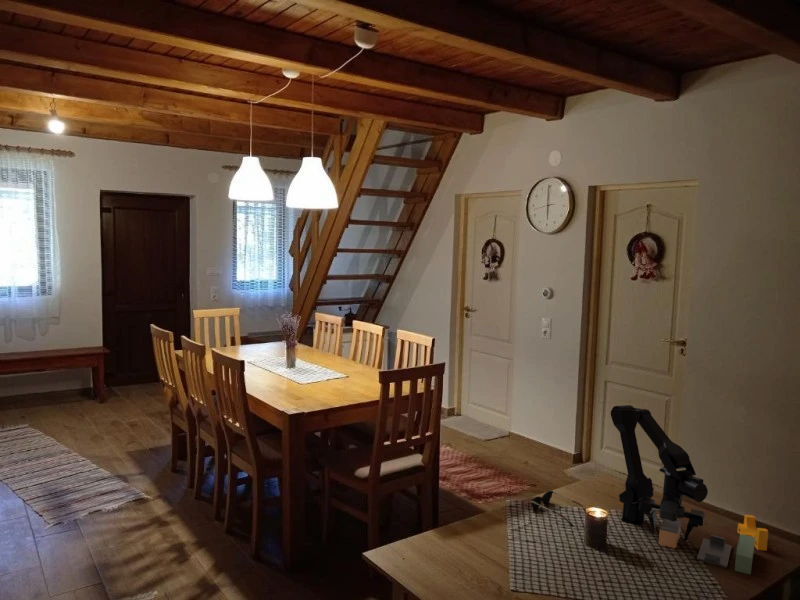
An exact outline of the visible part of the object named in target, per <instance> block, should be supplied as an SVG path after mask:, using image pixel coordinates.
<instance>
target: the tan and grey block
mask: <svg viewBox="0 0 800 600" xmlns="http://www.w3.org/2000/svg"><path fill="white" fill-rule="evenodd" d="M681 524H682V521H678V520H676V521H670V520H667V519H662V521H661V525H660V526H659V532H658V533H659V536H658V545H659V544H660V545H659V546H663V547H666V546H667V548H670V547H672V548H671V549H674V548H676V549H677V546H678V544H677V543H679V541H678V540H680V535H681V526H682V525H681Z"/></svg>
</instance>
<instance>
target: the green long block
mask: <svg viewBox="0 0 800 600" xmlns="http://www.w3.org/2000/svg"><path fill="white" fill-rule="evenodd" d="M754 544H755V537H751V536H747V535H743V534H740V535H739V539H738V542H737V544H736V547H735V553H734V554H735V555H734V560H735V562H734V564H735V565H734V571H735V572H738V573H742V574H746V575H750V576H751V573H752V567H753V566H752V565H753V559H754V551H755V546H754Z"/></svg>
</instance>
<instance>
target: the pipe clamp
mask: <svg viewBox="0 0 800 600" xmlns="http://www.w3.org/2000/svg"><path fill="white" fill-rule="evenodd" d="M736 531H737V533H739V534H743V535H747V536H751V537H755V544H754V548H756V550H758V551H767V550H768V540H769V530H768V529H767V528H763V527H757V526H756V517H755V516H754V515H752V514H744V519H743V523H739V522H738V523H737V530H736ZM739 534H738V535H739Z"/></svg>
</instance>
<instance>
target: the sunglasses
mask: <svg viewBox="0 0 800 600" xmlns="http://www.w3.org/2000/svg"><path fill="white" fill-rule="evenodd" d="M553 494H555V495H557V496H559V497H562V498H564V499H566V500H568V501H571V502H573V503H575V504H576V505H579V506H580V507H581V508H582V510H583V511H584V512H585V511H586V509H585V507H584V506H583V505H582V504H580V503H579V502H577V501H574V500H573V499H570V498H567V497H566V496H563V495H561V494H559V493H557V492H555V491H553V490H548V491H546V492H545V493H544V494H542V496H539V495H538V496H535V497H533V498H532V499H531V500H530V506H531V508H532V511H536V510H537V509H539V508H540V507H542V508H544V509H546V510H547V511H549V512H552V513H555V514H556V515H559V516H561V517H562V518H563V519H564V520H565V521H567V522H568V524H569V525H570V526H571V527H575V526H574V524H573V523H572V522H570V520H569V519H567V518H566V517H565V516H564V515H562V514H561V513H558V512H557V511H554V510H553V509H550V508H548V507H546V505H548V504H550V501H551V499H552V497H553ZM541 504H543V505H541Z"/></svg>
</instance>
